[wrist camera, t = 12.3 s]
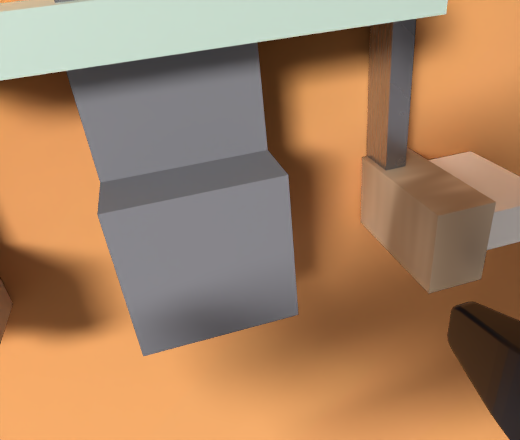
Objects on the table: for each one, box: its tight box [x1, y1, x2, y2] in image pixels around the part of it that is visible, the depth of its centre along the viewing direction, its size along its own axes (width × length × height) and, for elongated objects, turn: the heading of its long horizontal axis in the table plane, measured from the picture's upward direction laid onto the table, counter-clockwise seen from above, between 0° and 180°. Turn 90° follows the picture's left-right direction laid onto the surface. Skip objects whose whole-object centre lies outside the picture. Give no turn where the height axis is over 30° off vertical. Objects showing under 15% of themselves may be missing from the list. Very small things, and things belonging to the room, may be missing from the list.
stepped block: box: [66, 42, 298, 356], centre depth 14 cm, size 5×8×4 cm, turn 6°
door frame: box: [0, 19, 520, 343], centre depth 13 cm, size 24×13×5 cm, turn 96°
